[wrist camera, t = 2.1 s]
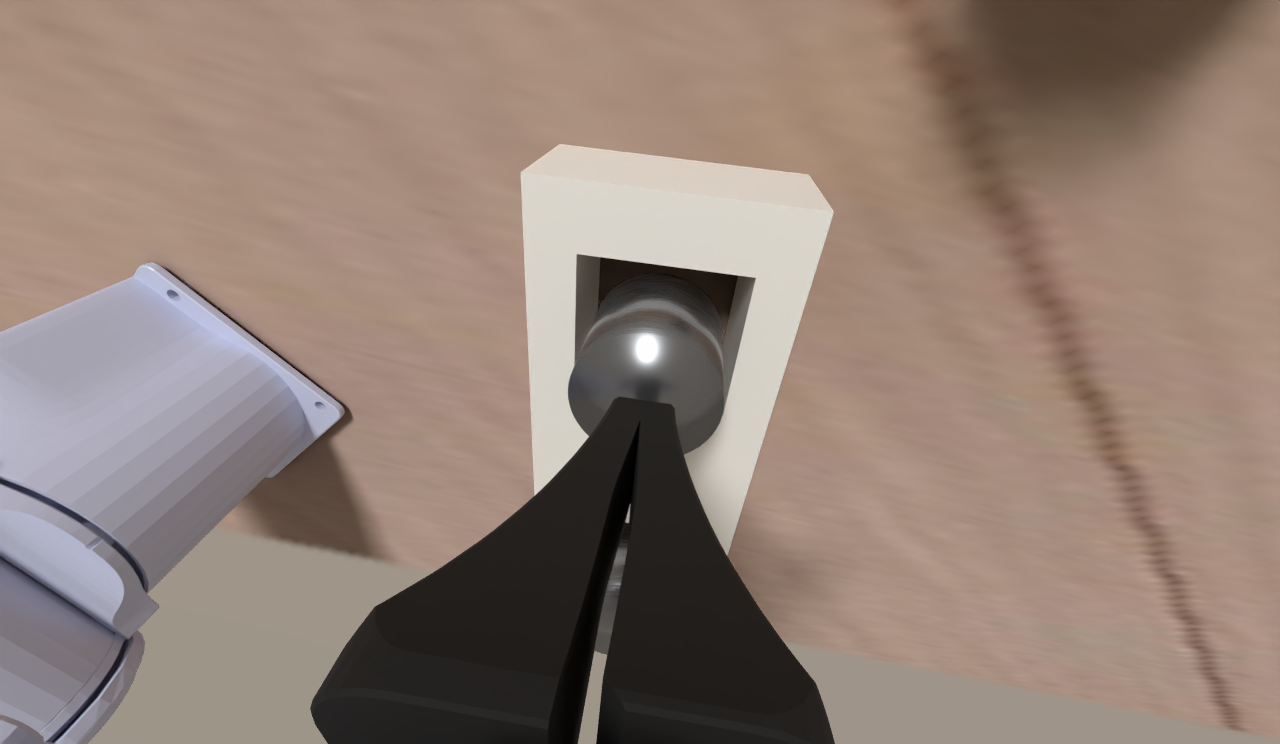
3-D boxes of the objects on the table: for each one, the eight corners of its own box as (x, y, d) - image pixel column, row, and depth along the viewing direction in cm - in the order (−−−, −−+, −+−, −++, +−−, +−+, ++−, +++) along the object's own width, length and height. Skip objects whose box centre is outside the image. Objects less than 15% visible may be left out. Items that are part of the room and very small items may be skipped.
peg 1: (566, 539, 22) (544, 617, 19) (635, 506, 20) (622, 586, 17) (625, 586, 24) (612, 665, 21) (693, 559, 22) (690, 642, 19)
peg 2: (568, 320, 16) (536, 386, 13) (668, 246, 14) (656, 303, 11) (648, 403, 17) (635, 479, 14) (747, 345, 16) (755, 419, 13)
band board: (559, 144, 16) (520, 172, 13) (808, 174, 16) (833, 211, 12) (560, 535, 28) (539, 604, 24) (704, 559, 27) (703, 632, 24)
